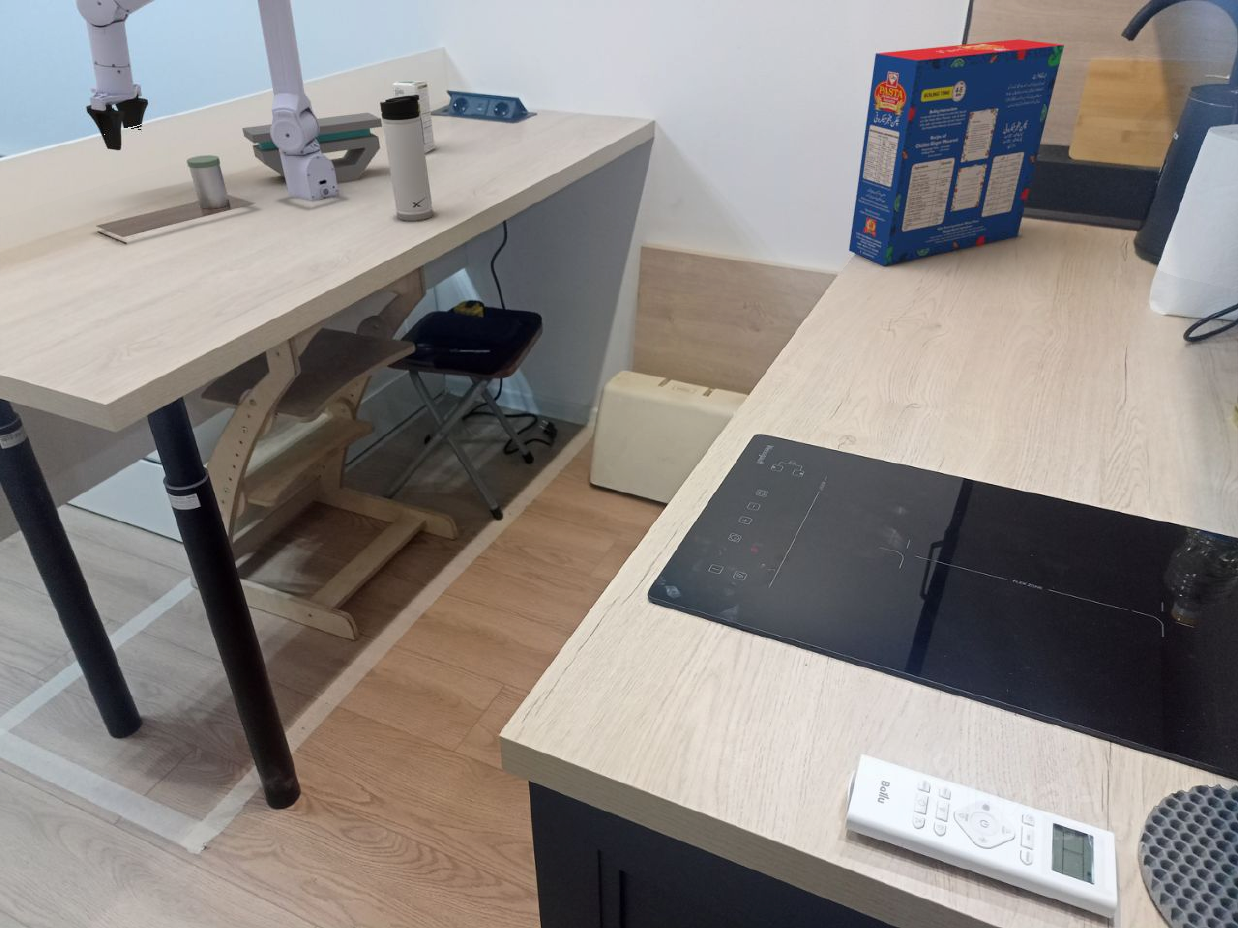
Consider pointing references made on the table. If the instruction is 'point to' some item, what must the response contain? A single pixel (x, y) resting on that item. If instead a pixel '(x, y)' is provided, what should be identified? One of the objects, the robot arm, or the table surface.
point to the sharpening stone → (328, 144)
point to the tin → (208, 181)
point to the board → (166, 218)
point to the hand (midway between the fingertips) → (124, 144)
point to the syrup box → (424, 107)
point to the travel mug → (407, 157)
